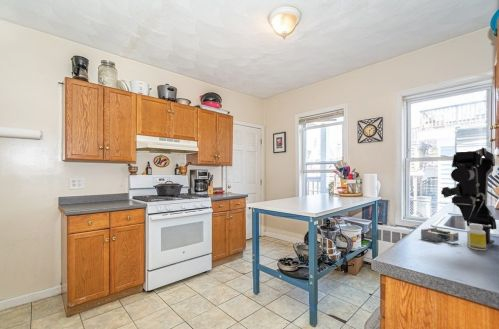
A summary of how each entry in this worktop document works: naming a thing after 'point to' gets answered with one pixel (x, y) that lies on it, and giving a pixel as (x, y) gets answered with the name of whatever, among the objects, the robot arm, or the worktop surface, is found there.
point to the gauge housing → (434, 234)
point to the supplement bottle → (476, 237)
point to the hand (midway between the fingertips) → (469, 219)
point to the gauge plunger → (451, 236)
